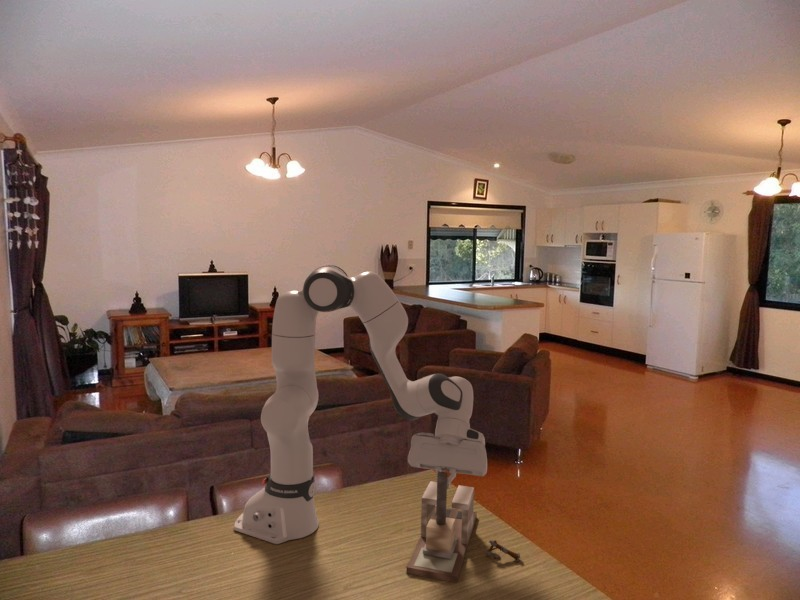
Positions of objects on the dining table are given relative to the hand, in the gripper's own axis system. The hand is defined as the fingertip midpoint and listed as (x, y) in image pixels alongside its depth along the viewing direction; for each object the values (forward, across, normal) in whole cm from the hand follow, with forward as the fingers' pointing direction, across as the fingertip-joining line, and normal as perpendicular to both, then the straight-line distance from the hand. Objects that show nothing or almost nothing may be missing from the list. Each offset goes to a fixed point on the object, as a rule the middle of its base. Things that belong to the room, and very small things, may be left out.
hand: (443, 487), depth 138 cm
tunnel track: (+9, 0, +15) cm, 17 cm away
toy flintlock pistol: (+11, +15, +13) cm, 23 cm away
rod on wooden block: (+12, 0, +9) cm, 15 cm away
